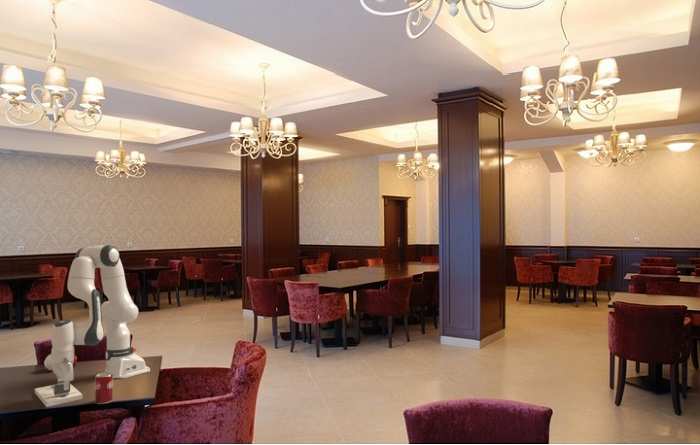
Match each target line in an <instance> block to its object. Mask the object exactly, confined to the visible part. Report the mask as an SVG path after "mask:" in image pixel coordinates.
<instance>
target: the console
mask: <svg viewBox="0 0 700 445" xmlns="http://www.w3.org/2000/svg"><path fill="white" fill-rule="evenodd" d="M34 394H35V395H36V397H37V398H39V400H40V401H41V402H42V404H43V405H44V406H45V407H46V408H48V407H53V406H56V405H61V404H66V403H71V402H76V401H79V400H83V394H82V393H81V392H80V391H79V390H78V389H77V388H76V387H75V386H74V385H72V384H71V383H70V392H69V394H68V395H63V396H58V397H56V396H55V395H54V384H52V385H51V384H50V385H46V386H42V387H37V388H34ZM75 400H76V401H75Z"/></svg>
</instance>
